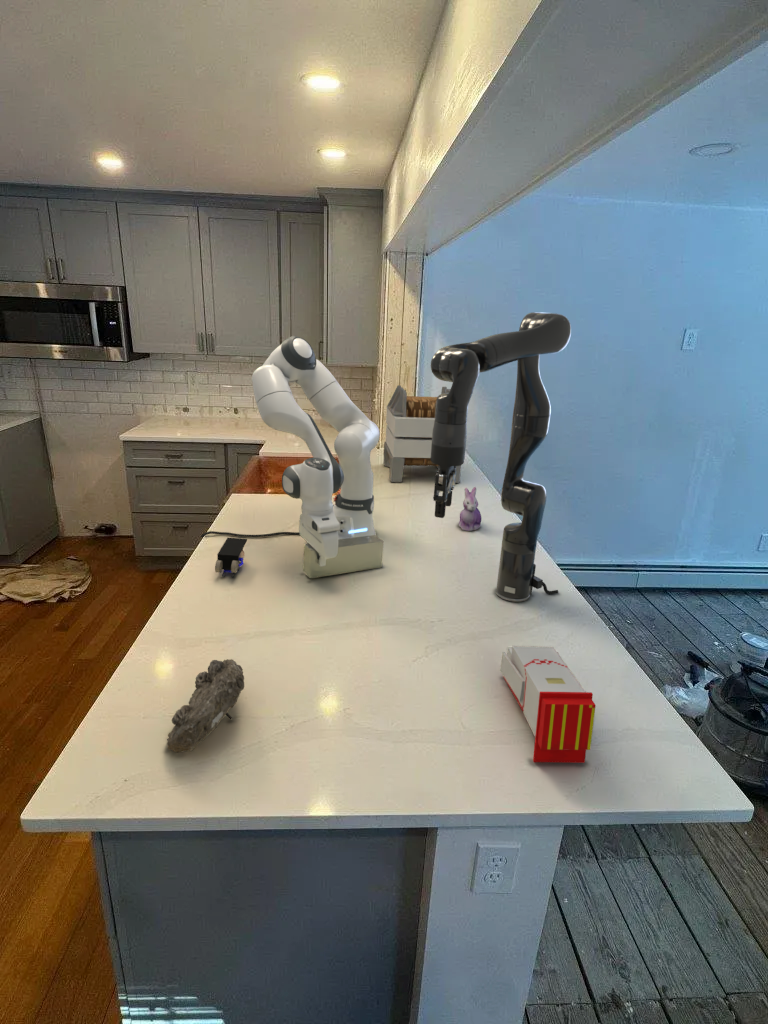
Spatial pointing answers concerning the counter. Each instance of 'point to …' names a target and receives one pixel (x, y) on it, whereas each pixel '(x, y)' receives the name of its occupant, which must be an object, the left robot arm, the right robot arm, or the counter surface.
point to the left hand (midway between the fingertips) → (317, 560)
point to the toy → (550, 702)
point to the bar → (345, 557)
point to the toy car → (230, 556)
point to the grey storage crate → (410, 433)
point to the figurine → (470, 512)
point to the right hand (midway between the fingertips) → (443, 511)
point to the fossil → (206, 705)
